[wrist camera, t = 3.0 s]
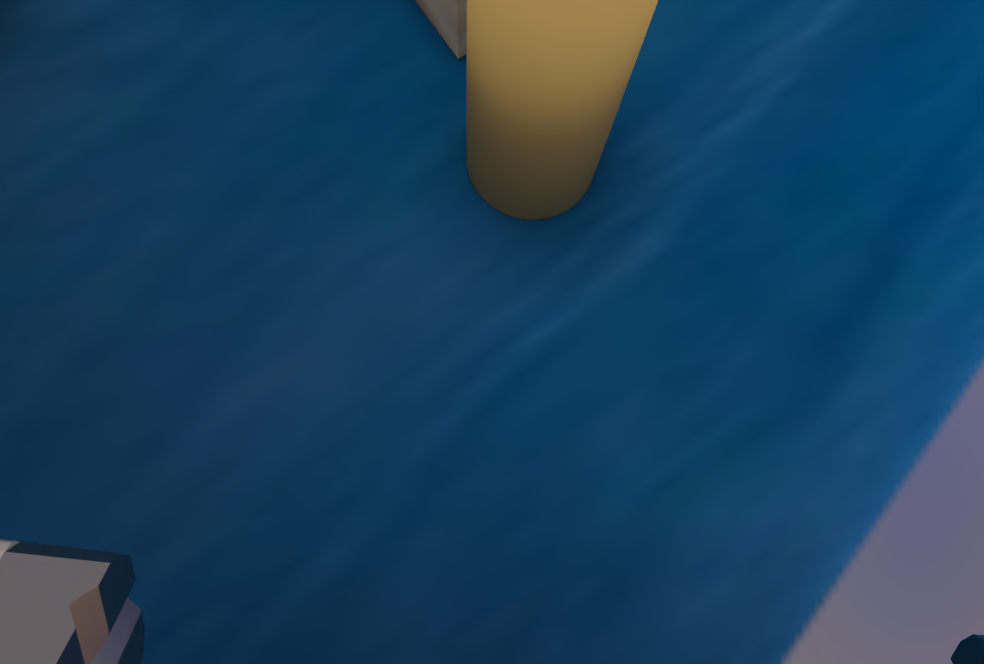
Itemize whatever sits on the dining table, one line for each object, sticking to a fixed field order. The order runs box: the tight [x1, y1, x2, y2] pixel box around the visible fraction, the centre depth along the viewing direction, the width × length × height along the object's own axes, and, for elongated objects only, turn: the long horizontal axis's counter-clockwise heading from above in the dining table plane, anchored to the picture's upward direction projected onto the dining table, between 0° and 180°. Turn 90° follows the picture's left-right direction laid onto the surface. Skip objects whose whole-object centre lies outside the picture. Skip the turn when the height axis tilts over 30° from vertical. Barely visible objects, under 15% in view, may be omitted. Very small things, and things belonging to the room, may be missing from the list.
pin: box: [466, 0, 658, 220], centre depth 22 cm, size 4×4×12 cm
